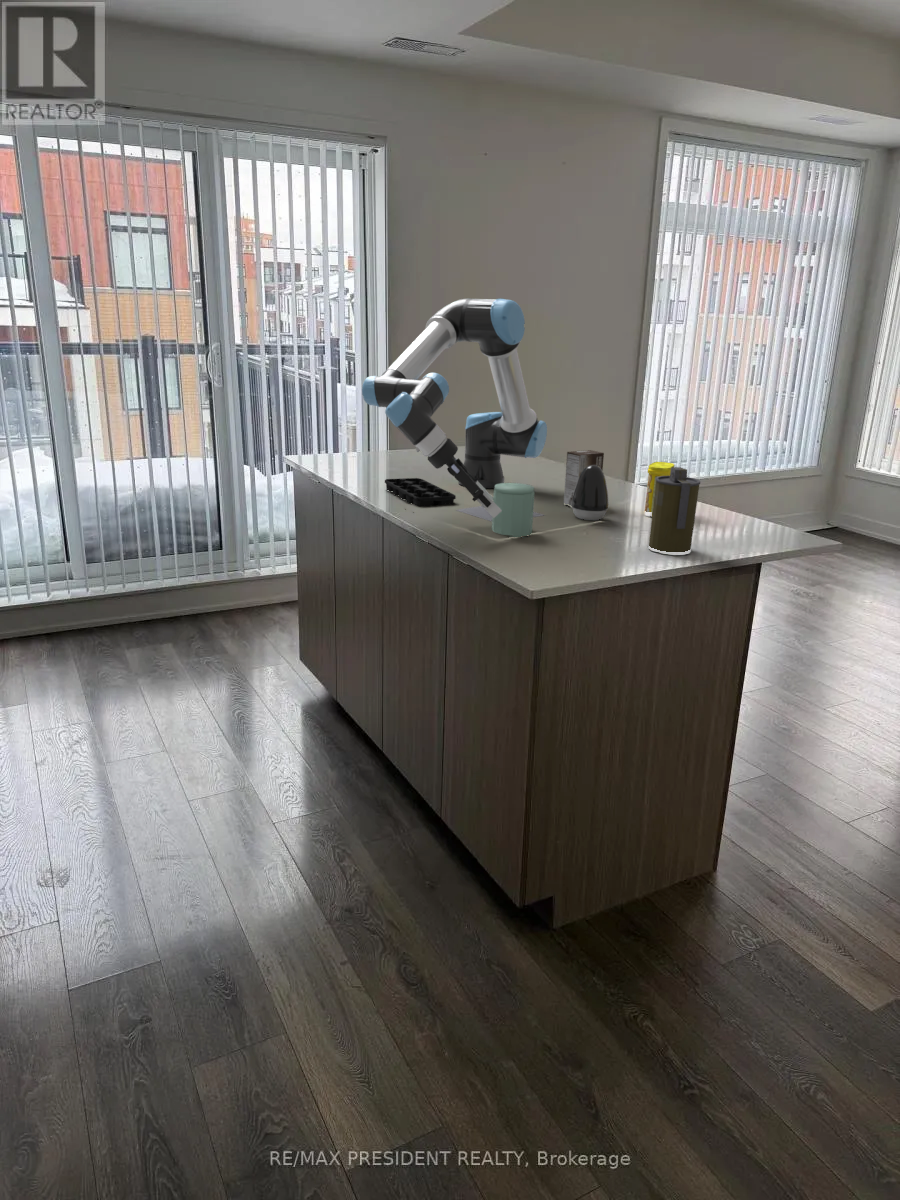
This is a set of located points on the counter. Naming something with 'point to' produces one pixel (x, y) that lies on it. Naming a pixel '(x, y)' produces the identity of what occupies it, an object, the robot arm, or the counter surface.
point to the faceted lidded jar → (513, 509)
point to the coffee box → (579, 469)
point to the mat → (484, 512)
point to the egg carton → (419, 492)
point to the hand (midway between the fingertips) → (494, 508)
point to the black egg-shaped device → (590, 494)
